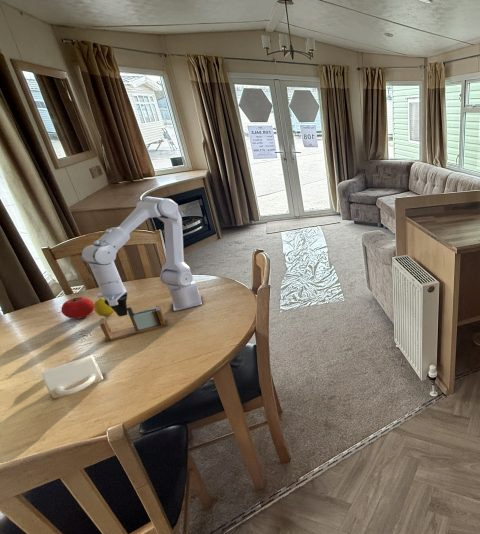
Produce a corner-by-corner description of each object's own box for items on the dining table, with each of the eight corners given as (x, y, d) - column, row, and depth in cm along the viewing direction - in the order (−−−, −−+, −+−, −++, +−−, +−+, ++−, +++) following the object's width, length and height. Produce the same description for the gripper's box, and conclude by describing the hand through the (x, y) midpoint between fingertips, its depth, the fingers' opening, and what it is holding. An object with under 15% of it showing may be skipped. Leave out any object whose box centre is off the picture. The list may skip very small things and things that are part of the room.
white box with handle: (53, 388, 96) (41, 366, 93) (101, 371, 103) (90, 350, 100) (57, 411, 89) (43, 389, 86) (107, 391, 96) (96, 369, 93)
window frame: (165, 320, 128) (159, 305, 125) (165, 326, 125) (159, 310, 122) (108, 335, 119) (101, 318, 116) (107, 341, 116) (99, 324, 113)
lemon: (122, 313, 132) (114, 295, 129) (108, 320, 127) (100, 302, 124) (109, 312, 133) (101, 294, 129) (95, 319, 128) (86, 301, 124)
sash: (159, 323, 125) (151, 302, 121) (159, 324, 124) (151, 303, 121) (135, 329, 121) (126, 307, 117) (135, 331, 120) (126, 309, 117)
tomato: (97, 307, 135) (89, 289, 132) (98, 316, 130) (90, 298, 126) (66, 315, 130) (57, 297, 126) (65, 325, 124) (56, 306, 121)
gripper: (95, 275, 114) (109, 309, 120) (89, 291, 104) (105, 328, 110) (122, 270, 118) (135, 303, 124) (119, 286, 108) (134, 321, 114)
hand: (123, 314), depth 117 cm, fingers closed, pressing on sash
